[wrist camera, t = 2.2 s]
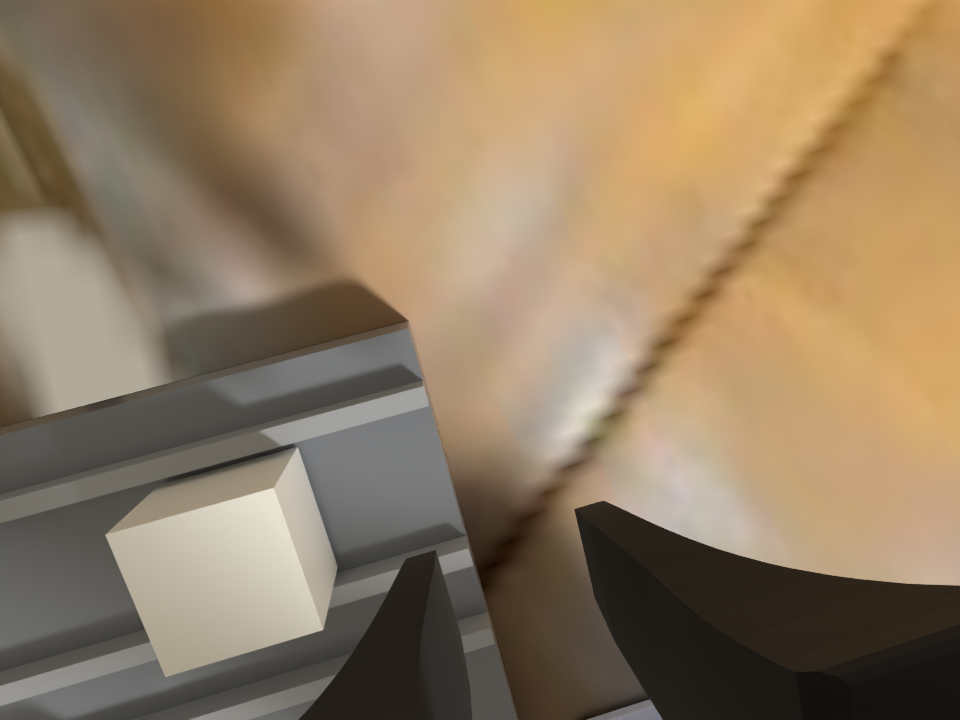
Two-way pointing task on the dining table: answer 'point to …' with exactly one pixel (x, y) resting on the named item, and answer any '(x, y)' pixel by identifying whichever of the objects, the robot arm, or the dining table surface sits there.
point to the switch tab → (227, 561)
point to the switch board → (201, 448)
